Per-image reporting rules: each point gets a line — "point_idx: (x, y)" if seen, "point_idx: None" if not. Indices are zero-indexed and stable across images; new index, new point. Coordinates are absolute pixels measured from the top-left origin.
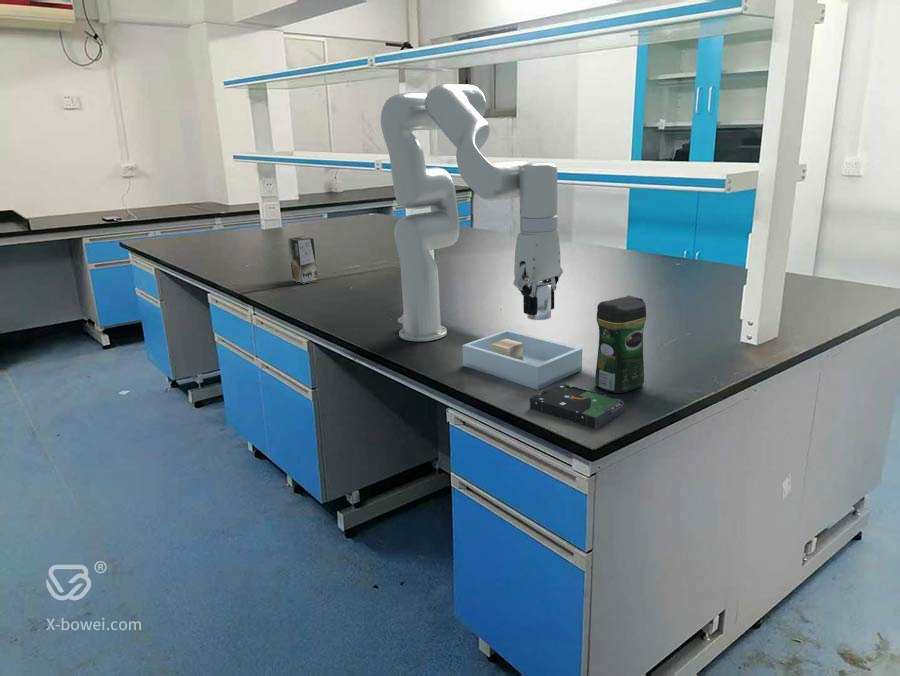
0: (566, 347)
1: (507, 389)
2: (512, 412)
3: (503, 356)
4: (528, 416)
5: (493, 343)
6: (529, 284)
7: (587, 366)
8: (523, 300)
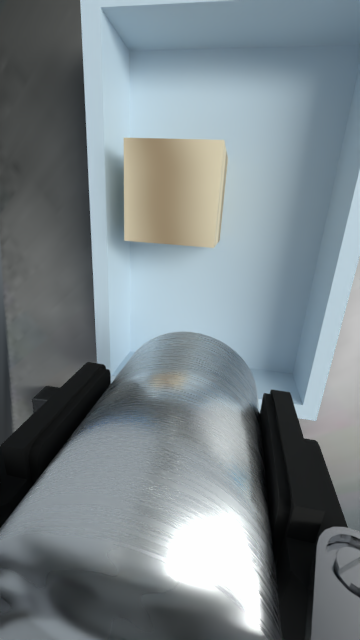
0: (310, 368)
1: (80, 296)
2: (11, 369)
3: (95, 250)
4: (21, 400)
5: (136, 142)
6: (37, 563)
7: (339, 379)
8: (38, 409)
